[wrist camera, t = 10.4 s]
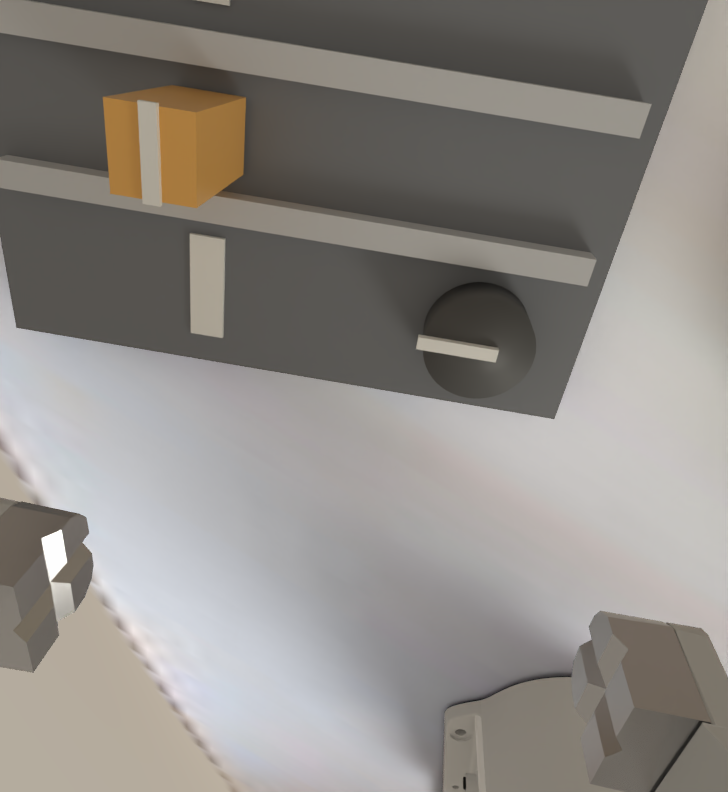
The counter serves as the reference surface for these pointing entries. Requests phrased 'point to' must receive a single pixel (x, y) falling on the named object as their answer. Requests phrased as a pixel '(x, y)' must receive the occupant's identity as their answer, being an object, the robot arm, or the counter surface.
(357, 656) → the counter surface
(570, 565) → the counter surface
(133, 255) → the console board
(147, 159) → the fader knob
